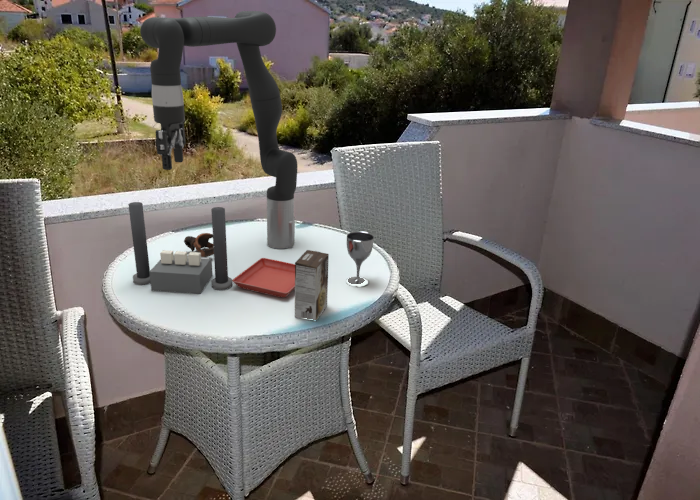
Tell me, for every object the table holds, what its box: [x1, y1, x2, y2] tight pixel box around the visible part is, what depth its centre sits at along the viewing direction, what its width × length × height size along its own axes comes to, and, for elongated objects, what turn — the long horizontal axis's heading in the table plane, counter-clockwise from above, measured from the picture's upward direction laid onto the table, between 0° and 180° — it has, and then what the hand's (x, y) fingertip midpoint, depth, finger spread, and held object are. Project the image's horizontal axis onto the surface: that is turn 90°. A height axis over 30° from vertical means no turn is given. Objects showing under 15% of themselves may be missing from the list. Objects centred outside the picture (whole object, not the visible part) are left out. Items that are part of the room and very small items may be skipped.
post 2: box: [210, 206, 234, 291], centre depth 147 cm, size 6×6×24 cm
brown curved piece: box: [183, 232, 214, 257], centre depth 170 cm, size 12×10×8 cm
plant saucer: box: [232, 257, 295, 298], centre depth 154 cm, size 18×18×3 cm
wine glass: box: [346, 231, 375, 284], centre depth 155 cm, size 8×8×15 cm
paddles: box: [159, 249, 202, 266], centre depth 149 cm, size 12×2×3 cm, turn 88°
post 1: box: [128, 201, 151, 286], centre depth 147 cm, size 6×6×24 cm
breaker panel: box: [149, 255, 213, 295], centre depth 150 cm, size 14×12×6 cm
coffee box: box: [294, 249, 330, 321], centre depth 137 cm, size 9×6×16 cm
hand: (173, 165), depth 138 cm, fingers open, 8 cm apart
